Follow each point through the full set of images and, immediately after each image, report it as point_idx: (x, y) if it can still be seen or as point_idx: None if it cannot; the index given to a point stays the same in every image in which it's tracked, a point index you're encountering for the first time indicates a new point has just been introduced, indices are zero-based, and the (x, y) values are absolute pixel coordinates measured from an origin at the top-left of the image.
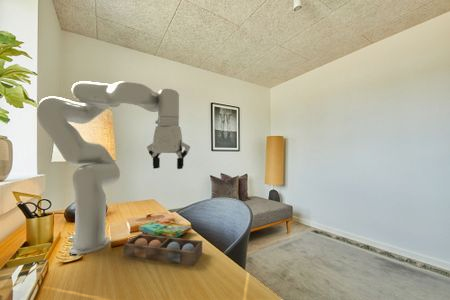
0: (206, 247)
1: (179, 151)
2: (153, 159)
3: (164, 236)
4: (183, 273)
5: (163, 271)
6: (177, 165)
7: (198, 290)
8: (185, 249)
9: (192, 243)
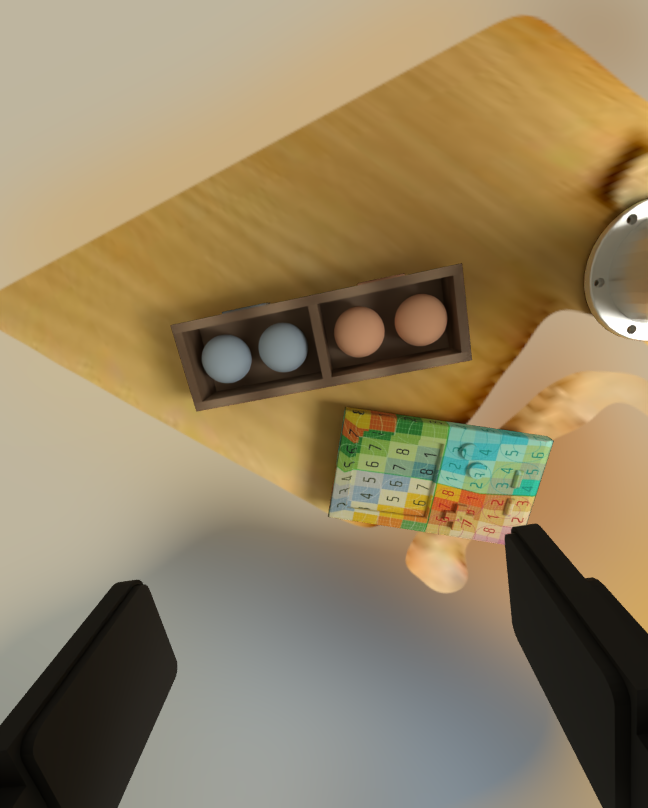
0: (226, 442)
1: None
2: (638, 646)
3: (383, 414)
4: (203, 289)
5: (264, 270)
6: (111, 615)
7: (121, 246)
8: (219, 341)
9: (231, 394)
